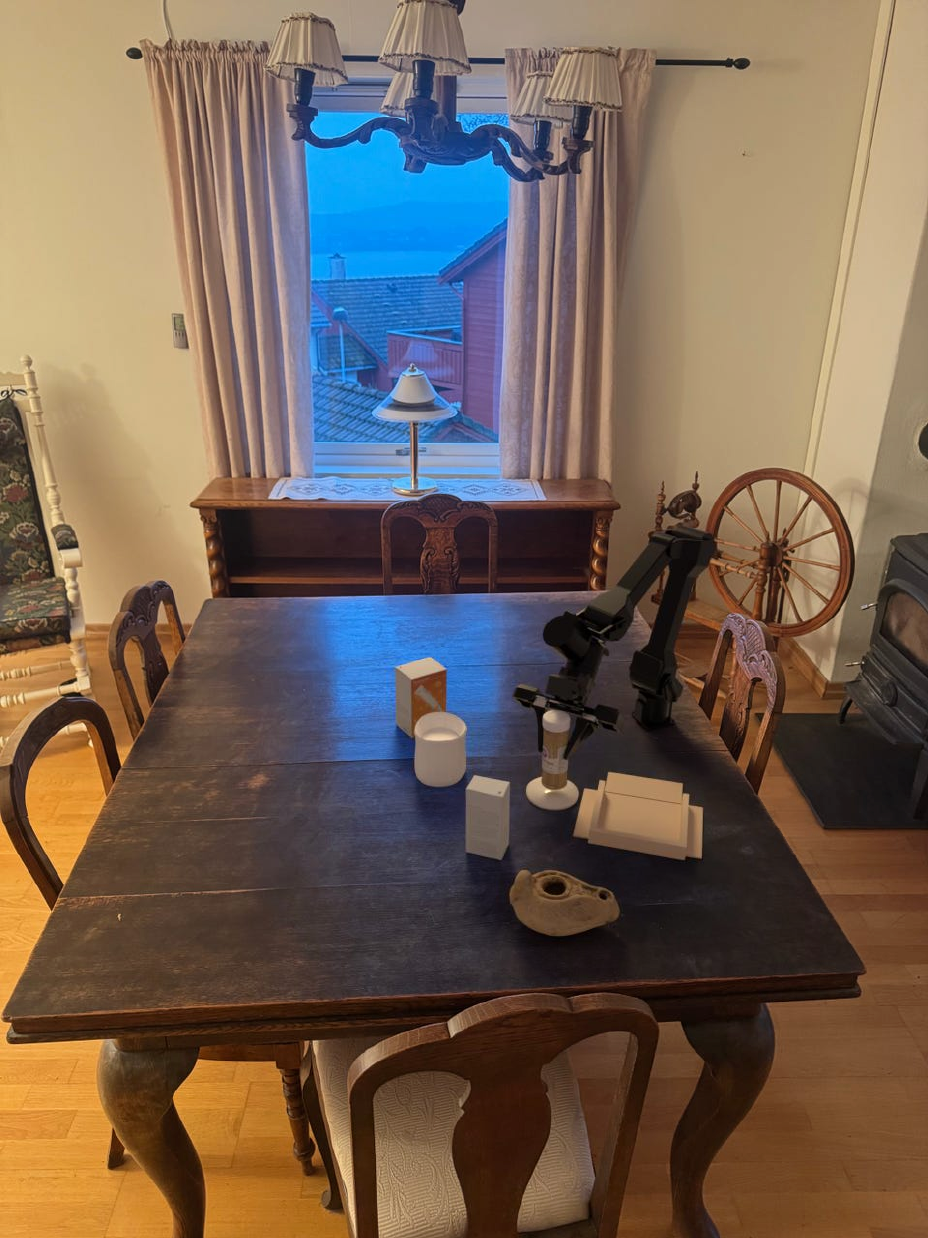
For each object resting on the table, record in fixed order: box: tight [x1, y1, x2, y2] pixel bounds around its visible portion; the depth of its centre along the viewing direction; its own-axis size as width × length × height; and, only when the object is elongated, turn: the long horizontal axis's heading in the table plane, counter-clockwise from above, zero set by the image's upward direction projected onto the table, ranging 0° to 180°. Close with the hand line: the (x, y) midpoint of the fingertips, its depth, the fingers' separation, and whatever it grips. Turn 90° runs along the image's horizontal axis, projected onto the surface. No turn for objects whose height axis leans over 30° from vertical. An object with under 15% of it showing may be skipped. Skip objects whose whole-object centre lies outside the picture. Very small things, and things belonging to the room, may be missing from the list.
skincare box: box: [465, 774, 511, 861], centre depth 131 cm, size 6×4×12 cm
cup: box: [414, 711, 468, 788], centre depth 150 cm, size 10×10×10 cm
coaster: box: [525, 776, 580, 811], centre depth 146 cm, size 9×9×1 cm
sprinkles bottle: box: [541, 709, 571, 790], centre depth 143 cm, size 5×5×13 cm
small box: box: [394, 656, 448, 739], centre depth 163 cm, size 8×6×13 cm
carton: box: [573, 771, 704, 861], centre depth 141 cm, size 20×20×2 cm
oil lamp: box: [509, 869, 620, 937], centre depth 118 cm, size 11×15×8 cm
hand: (552, 755), depth 142 cm, fingers closed on sprinkles bottle, 4 cm apart
